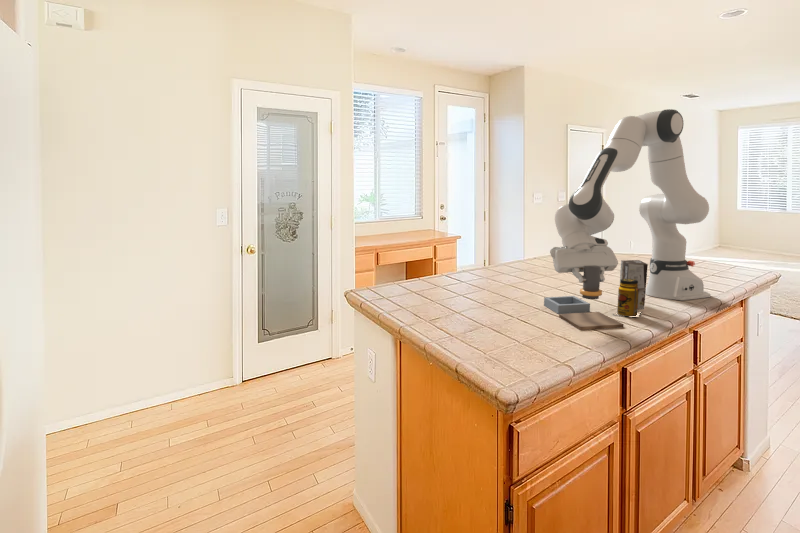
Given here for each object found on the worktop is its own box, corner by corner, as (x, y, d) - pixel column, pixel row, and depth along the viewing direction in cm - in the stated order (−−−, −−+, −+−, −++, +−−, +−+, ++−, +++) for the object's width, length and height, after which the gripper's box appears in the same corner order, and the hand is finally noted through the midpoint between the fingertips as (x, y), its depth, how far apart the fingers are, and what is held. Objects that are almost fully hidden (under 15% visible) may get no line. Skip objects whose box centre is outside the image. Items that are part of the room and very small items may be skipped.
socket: (573, 303, 164) (573, 295, 163) (589, 312, 153) (590, 303, 152) (543, 305, 163) (544, 297, 162) (558, 314, 151) (558, 305, 151)
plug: (594, 294, 144) (596, 264, 142) (605, 299, 138) (607, 267, 136) (575, 295, 143) (577, 265, 141) (586, 300, 137) (588, 268, 135)
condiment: (613, 315, 149) (615, 280, 147) (619, 309, 155) (622, 276, 153) (637, 318, 144) (639, 282, 142) (643, 312, 150) (645, 278, 148)
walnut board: (598, 314, 149) (598, 311, 149) (623, 327, 136) (623, 324, 136) (558, 316, 148) (559, 314, 148) (580, 330, 134) (580, 326, 134)
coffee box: (645, 309, 154) (648, 264, 151) (625, 309, 155) (628, 263, 152) (636, 302, 163) (639, 259, 160) (618, 302, 164) (620, 259, 161)
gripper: (551, 241, 143) (564, 277, 135) (611, 239, 145) (627, 274, 137) (545, 253, 148) (557, 288, 140) (602, 251, 150) (618, 285, 142)
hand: (592, 281), depth 139 cm, fingers closed on plug, 5 cm apart
